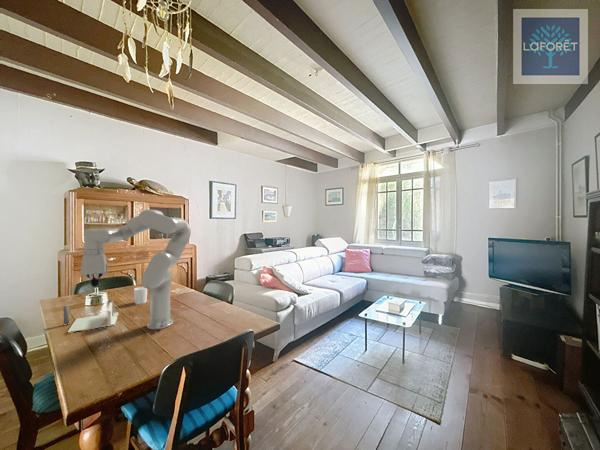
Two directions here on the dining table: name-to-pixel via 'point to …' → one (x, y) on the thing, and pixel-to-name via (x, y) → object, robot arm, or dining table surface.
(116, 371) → the dining table surface
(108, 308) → the white flat panel
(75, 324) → the frame
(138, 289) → the white cup
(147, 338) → the dining table surface
